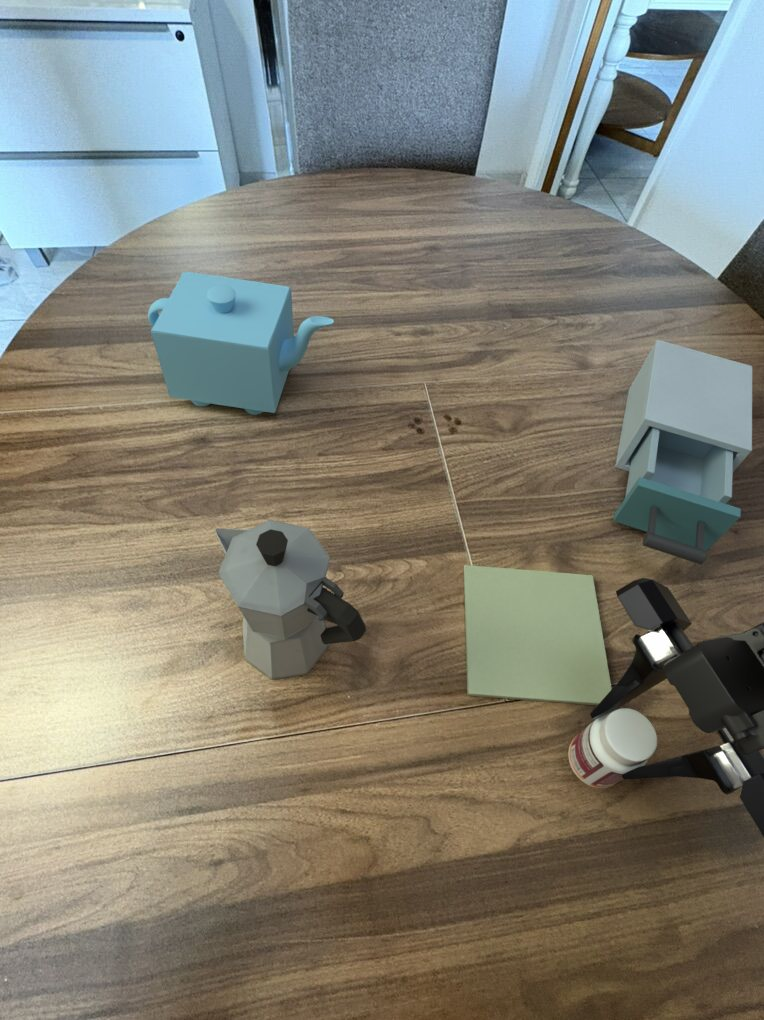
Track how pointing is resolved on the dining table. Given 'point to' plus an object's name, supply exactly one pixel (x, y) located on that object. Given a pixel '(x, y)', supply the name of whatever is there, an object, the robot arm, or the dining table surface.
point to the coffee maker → (284, 597)
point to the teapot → (228, 341)
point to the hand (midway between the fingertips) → (607, 745)
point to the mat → (534, 636)
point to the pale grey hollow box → (689, 401)
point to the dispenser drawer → (679, 494)
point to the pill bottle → (612, 747)
